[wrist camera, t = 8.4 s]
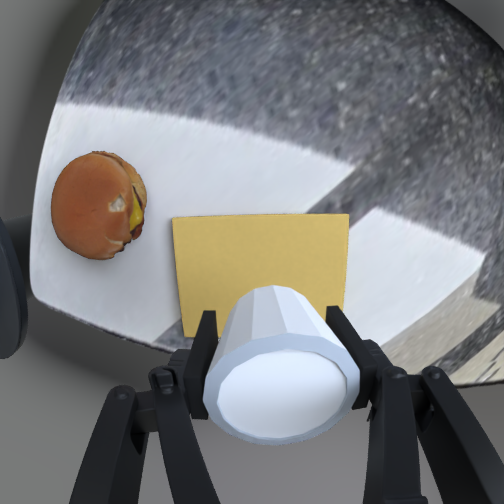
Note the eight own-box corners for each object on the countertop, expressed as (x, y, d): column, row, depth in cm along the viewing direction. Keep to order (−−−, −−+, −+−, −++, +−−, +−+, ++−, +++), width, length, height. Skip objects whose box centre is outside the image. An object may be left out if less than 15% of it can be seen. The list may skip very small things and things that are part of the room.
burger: (58, 180, 23) (30, 182, 19) (128, 137, 23) (106, 129, 18) (90, 266, 26) (66, 281, 21) (164, 232, 25) (148, 243, 20)
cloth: (185, 335, 28) (184, 337, 27) (173, 217, 25) (171, 218, 24) (339, 329, 28) (340, 331, 27) (347, 213, 25) (349, 214, 24)
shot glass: (203, 350, 18) (185, 427, 11) (240, 258, 16) (235, 309, 9) (296, 379, 18) (313, 454, 12) (343, 296, 17) (390, 357, 10)
